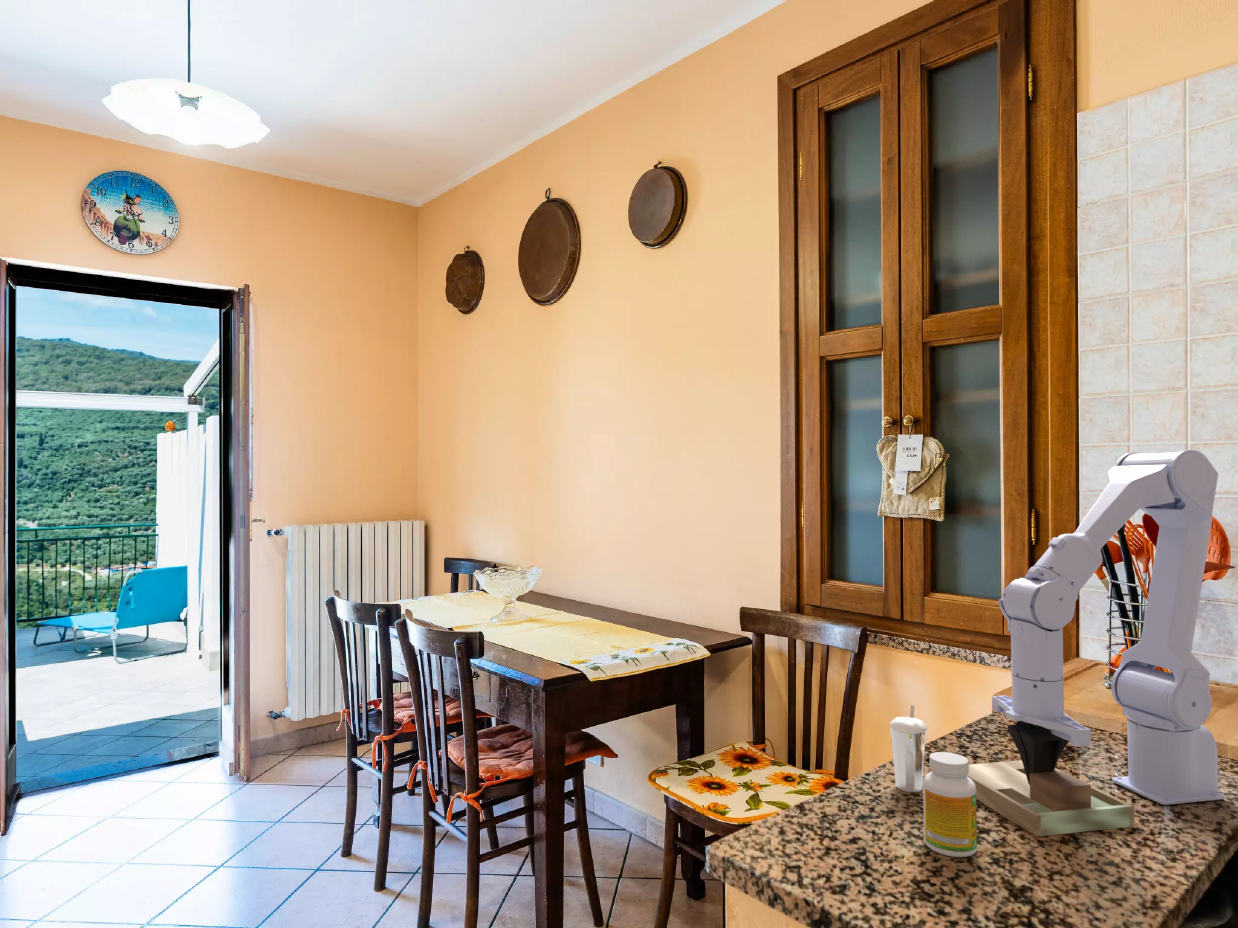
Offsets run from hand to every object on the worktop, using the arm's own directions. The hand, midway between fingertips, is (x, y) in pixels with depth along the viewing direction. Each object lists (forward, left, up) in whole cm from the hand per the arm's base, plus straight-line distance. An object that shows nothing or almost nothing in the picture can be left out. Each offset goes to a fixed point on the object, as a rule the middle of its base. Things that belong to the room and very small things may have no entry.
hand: (1039, 785), depth 95 cm
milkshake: (+13, -8, -2) cm, 15 cm away
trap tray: (0, -1, -2) cm, 3 cm away
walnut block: (0, +3, -1) cm, 4 cm away
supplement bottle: (+18, +8, -2) cm, 19 cm away
